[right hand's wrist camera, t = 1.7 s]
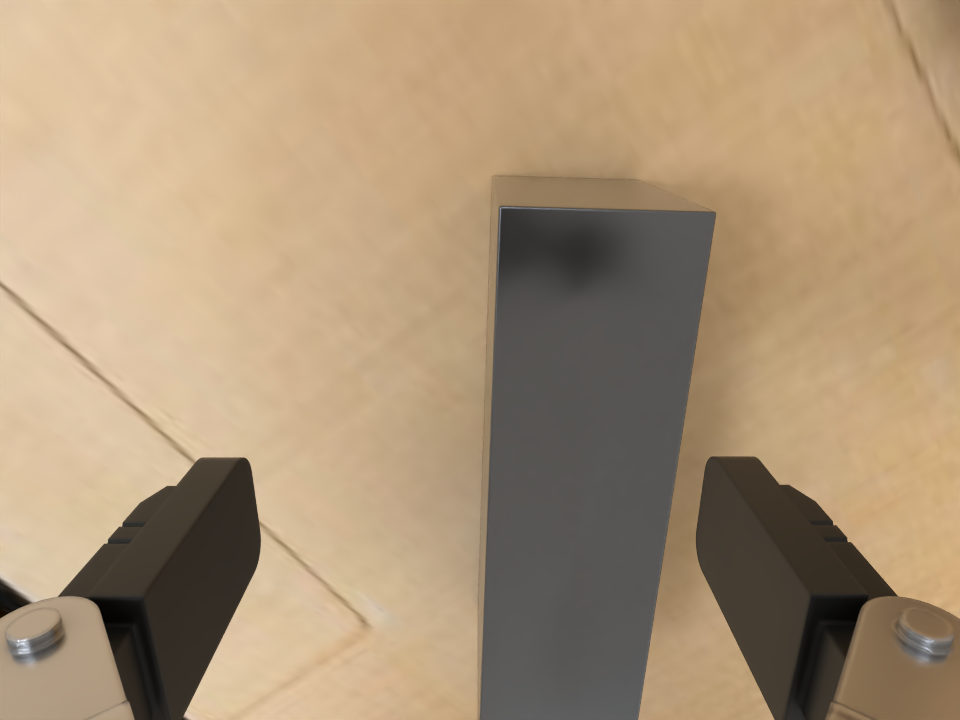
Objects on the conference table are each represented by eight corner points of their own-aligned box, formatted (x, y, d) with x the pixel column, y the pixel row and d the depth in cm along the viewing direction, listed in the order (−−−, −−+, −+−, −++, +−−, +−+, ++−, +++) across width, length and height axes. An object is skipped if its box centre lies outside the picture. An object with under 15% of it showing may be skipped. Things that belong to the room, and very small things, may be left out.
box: (492, 175, 27) (498, 205, 18) (640, 179, 27) (717, 211, 18) (477, 607, 35) (477, 773, 26) (592, 609, 35) (629, 776, 26)
